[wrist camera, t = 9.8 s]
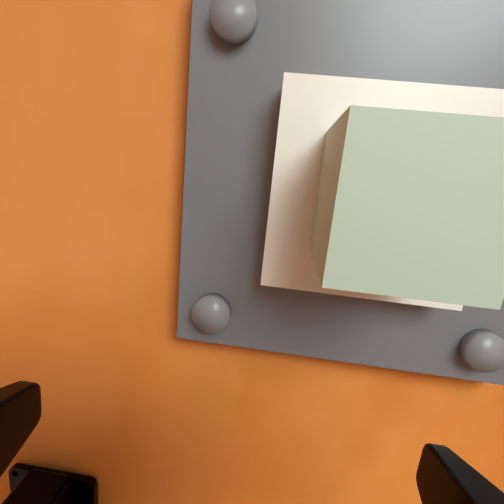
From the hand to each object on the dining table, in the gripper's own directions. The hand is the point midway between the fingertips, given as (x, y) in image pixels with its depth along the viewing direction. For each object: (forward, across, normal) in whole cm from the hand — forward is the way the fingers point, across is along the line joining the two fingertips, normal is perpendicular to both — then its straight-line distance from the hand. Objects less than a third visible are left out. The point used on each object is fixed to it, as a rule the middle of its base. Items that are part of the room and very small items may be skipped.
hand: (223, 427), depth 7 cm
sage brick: (+8, -5, -5) cm, 11 cm away
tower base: (+11, -5, -6) cm, 13 cm away
